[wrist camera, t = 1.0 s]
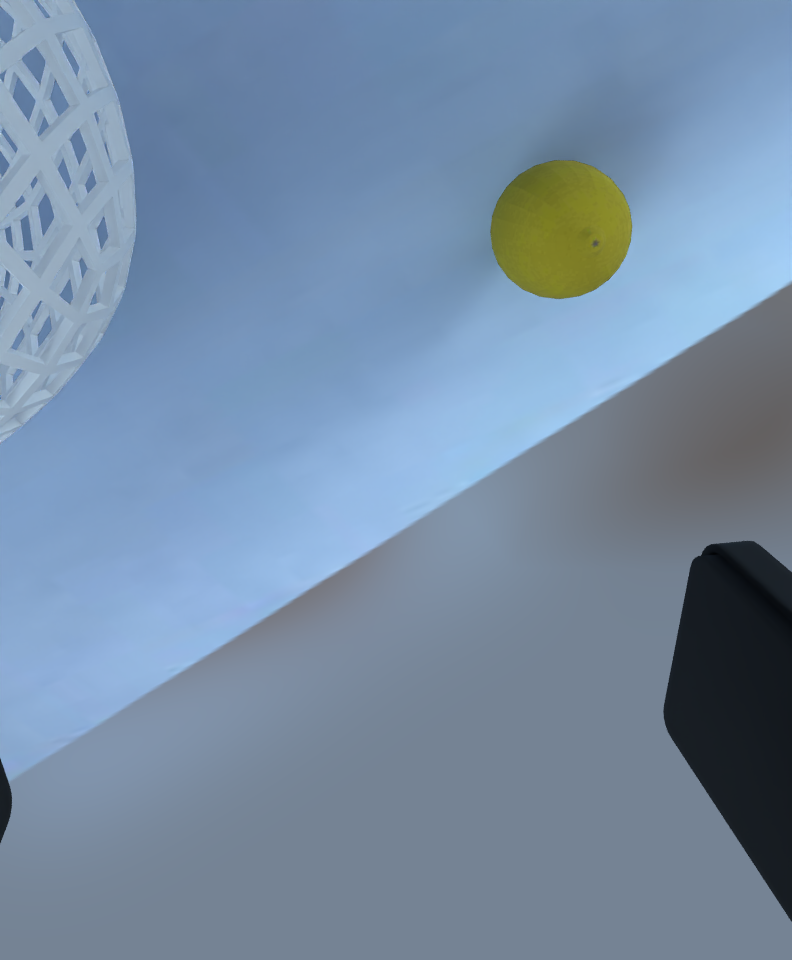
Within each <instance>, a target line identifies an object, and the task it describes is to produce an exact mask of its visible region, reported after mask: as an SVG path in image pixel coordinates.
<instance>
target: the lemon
mask: <svg viewBox="0 0 792 960" xmlns="http://www.w3.org/2000/svg"><path fill="white" fill-rule="evenodd" d="M490 233H491V242H492V249H493V252H494V254H495V257H496V260H497V262H498V264H499V266H500V267H501V268H502V270H503V271H504V273H505V274H506V275H507V277H508V278H509V279H510V280H512V281H513V282H514V283H515V284H517V285H518V286H519V287H520V288H522V289H523V290H525V291H528V292H530V293H533V294H535V295H537V296H540V297H547V298H555V299H563V298H570V297H577V296H581V295H583V294H586V293H588V292H591V291H593V290H595V289H597V288H598V287H599V286H601V285H602V284H603V283H605V282H606V281H608V280H609V279H610V278H611V277H612V275H613V274H614V273H615V272H616V271H617V270H618V269H619V267H620V265H621V264H622V262H623V260H624V258H625V257H626V255H627V251H628V248H629V245H630V242H631V233H632V221H631V214H630V209H629V206H628V204H627V202H626V199H625V197H624V195H623V193H622V192H621V190H620V189H619V188H618V187H617V185H616V184H615V183H614V182H613V181H612V179H611V178H609V177H608V176H606V175H605V174H604V173H602V172H601V171H599V170H598V169H596V168H595V167H593V166H590V165H587V164H584V163H580V162H577V161H564V160H554V161H550V162H546V163H542V164H539V165H535V166H533V167H532V168H530V169H528V170H527V171H525V172H523V173H521V174H520V175H518V176H517V177H516V178H515V179H514V180H513V181H512V182H511V183H510V184H509V185H508V186H507V187H506V189H505V190H504V192H503V193H502V195H501V197H500V198H499V200H498V201H497V204H496V207H495V210H494V212H493V215H492V222H491V231H490Z"/></svg>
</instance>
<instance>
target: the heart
mask: <svg viewBox="0 0 792 960" xmlns="http://www.w3.org/2000/svg"><path fill="white" fill-rule="evenodd" d="M38 1H39V2H40V4H41V5H42V6H43V8H44V9H45V10H46V12H47V13H48V14H49V16H50V17H48V18H45V16H44V15H43V14H42V12H41V11H40V9H39V8H38V6H37V5H36V3H35V2H34V0H0V6H1V7H2V8H3V9H4V10H5V11H6V12H7V13H8V14H9V15H10V16H11V17H12V18H13V19H14V26H13V33H12V39H11V40H9V41H8V42H7V43H5V42H4V41H3V40H2V39H1V38H0V74H1V73H2V72H4V71H5V70H6V73H5V77H4V82H2V80H1V79H0V151H1V152H2V154H3V155H4V157H5V158H6V160H7V161H8V163H9V164H10V166H9V168H8V169H7V171H6V172H5V174H4V176H3V177H2V175H1V174H0V298H1V296H2V297H3V298H5V300H4V303H3V305H2V308H1V310H0V375H1V376H0V395H1V400H0V444H1V443H2V442H4V441H5V440H6V439H7V438H8V437H10V436H11V435H12V434H13V433H14V432H16V431H17V430H18V429H19V428H20V427H22V426H23V425H24V424H25V423H26V422H27V421H29V420H30V419H31V418H32V417H33V416H34V415H35V414H36V413H37V412H38V411H40V410H41V409H42V408H43V407H44V406H45V405H46V404H47V403H48V402H49V401H51V400H52V399H53V398H54V397H55V396H56V395H57V394H58V393H59V392H60V390H61V389H62V388H63V387H64V386H65V385H66V383H67V382H68V381H69V380H70V379H71V378H72V376H73V375H74V374H75V373H76V372H77V371H78V369H79V368H80V367H81V365H82V364H83V363H84V361H85V360H86V359H87V358H88V356H89V355H90V354H91V352H92V351H93V350H94V349H95V347H96V346H97V345H98V343H99V342H100V340H101V339H102V337H103V335H104V333H105V331H106V329H107V327H108V325H109V323H110V321H111V319H112V317H113V315H114V313H115V311H116V309H117V307H118V304H119V302H120V300H121V298H122V295H123V292H124V289H125V286H126V283H127V278H128V273H129V268H130V263H131V258H132V253H133V248H134V243H135V238H136V201H135V183H134V167H133V160H132V154H131V150H130V146H129V141H128V137H127V132H126V128H125V124H124V119H123V115H122V111H121V106H120V103H119V99H118V96H117V93H116V90H115V88H114V85H113V82H112V80H111V77H110V75H109V72H108V70H107V67H106V65H105V62H104V59H103V57H102V54H101V52H100V49H99V47H98V44H97V42H96V39H95V37H94V35H93V33H92V31H91V29H90V27H89V25H88V24H87V22H86V20H85V18H84V17H83V15H82V13H81V11H80V10H79V8H78V6H77V4H76V3H75V1H74V0H38ZM64 40H65V42H66V44H67V45H68V47H69V49H70V51H71V53H72V55H73V56H74V58H75V60H76V62H77V64H78V66H79V67H80V68H79V72H78V75H77V77H76V75H75V73H74V71H73V69H72V67H71V65H70V63H69V61H68V59H67V57H66V55H65V53H64V51H63V49H62V47H63V41H64ZM35 47H36V48H37V49H38V50H39V52H40V53H41V54H42V56H43V57H44V59H45V61H46V63H45V68H44V72H43V76H42V80H41V84H39V82H38V81H37V80H36V78H35V77H34V76H33V74H32V73H31V72H30V70H29V69H28V68H27V66H26V65H25V63H24V62H23V61H22V57H23V56H24V55H26V54H27V53H28V52H29V51H31V50H32V49H33V48H35ZM18 77H19V79H20V80H21V81H22V83H23V84H24V86H25V87H26V88H27V90H28V91H29V92H30V94H31V95H32V96H33V98H34V99H35V100H36V102H35V105H34V108H33V111H32V114H31V117H30V120H29V121H28V120H27V118H26V117H25V115H24V114H23V112H22V111H21V109H20V108H19V106H18V105H17V103H16V102H15V100H14V99H13V94H14V90H15V87H16V83H17V79H18ZM55 80H56V82H57V84H58V85H59V87H60V89H61V91H62V93H63V95H64V97H65V98H66V100H67V102H68V104H69V107H68V108H67V109H66V110H65V111H64V112H63V113H62V114H61V115H60V116H58V114H57V112H56V110H55V108H54V106H53V104H52V102H51V100H50V97H51V94H52V90H53V86H54V83H55ZM88 89H89V92H90V93H89V94H87V92H88ZM95 112H97V114H98V116H99V122H98V124H97V122H96V119H95V116H94V113H95ZM44 116H45V118H46V120H47V122H48V124H49V127H48V128H47V129H46V130H45V131H44V132H43V133H42V134H41V135H40V136H39V137H38V133H39V130H40V127H41V124H42V121H43V118H44ZM3 128H4V129H5V131H6V132H7V134H8V135H9V137H10V138H11V139H12V141H13V142H14V144H15V145H16V147H17V148H18V150H17V152H16V153H15V152H14V150H13V149H12V147H11V146H10V144H9V143H8V141H7V140H6V139H5V137H4V136H3V134H2V133H1V132H2V129H3ZM78 128H79V130H80V132H81V135H82V138H83V141H84V143H85V146H86V149H87V150H86V152H85V154H84V157H83V159H82V161H81V163H80V165H79V164H78V161H77V158H76V155H75V152H74V150H73V147H72V144H71V141H70V140H71V137H72V135H73V134H74V133H75V132H76V131H77V130H78ZM105 141H106V145H107V149H108V153H109V157H110V161H111V164H110V161H109V158H108V155H107V152H106V149H105V146H104V144H105ZM63 158H64V161H65V164H66V167H67V170H68V173H69V176H70V179H71V182H72V183H71V185H70V187H69V189H67V187H66V185H65V183H64V181H63V179H62V177H61V175H60V173H59V171H58V168H59V166H60V163H61V161H62V159H63ZM111 165H112V167H111ZM92 169H93V173H94V177H95V180H96V185H95V186H94V188H93V189H92V190H91V191H90V192H89V193H88V194H87V190H86V186H85V184H86V182H87V180H88V178H89V176H90V173H91V171H92ZM35 176H36V177H37V179H38V181H37V183H36V185H35V187H34V188H33V189H32V187H31V184H30V183H31V182H32V181H33V179H34V178H35ZM45 193H46V194H47V196H48V198H49V199H50V203H51V206H52V210H53V214H54V217H55V218H54V219H53V221H52V223H51V224H50V226H49V228H48V230H47V231H46V233H45V235H44V237H43V234H42V228H41V222H40V215H39V209H38V205H39V204H40V202H41V200H42V198H43V197H44V195H45ZM22 194H23V197H24V199H25V202H24V203H22V204H21V205H20V206H19V207H18V208H17V207H16V202H17V201H18V200H19V198H20V197H21V196H22ZM76 203H78V206H76ZM7 215H8V216H7ZM27 215H28V217H29V224H30V231H31V237H32V244H33V250H30V251H24V245H23V236H22V228H21V219H23V218H24V217H25V216H27ZM6 216H7V217H6ZM103 216H104V218H105V222H106V227H107V231H108V238H107V240H106V242H105V244H104V246H103V248H102V250H101V248H100V243H99V238H98V234H97V228H98V226H99V224H100V222H101V220H102V218H103ZM9 226H11V232H12V241H13V248H12V247H11V246H10V245H9V244H8V243H7V241H6V235H5V229H6V228H8V227H9ZM81 258H83V260H84V262H85V264H86V266H87V270H86V273H85V275H84V277H83V279H82V275H81V269H80V264H79V261H80V259H81ZM24 260H26V261H32V264H31V268H30V267H29V266H28V265H27V264H26V263H25V261H24ZM6 270H7V271H8V272H9V273H10V280H9V285H8V289H7V288H5V287H4V282H5V275H6ZM58 271H59V272H58ZM105 272H106V274H105ZM57 273H58V274H57ZM55 276H56V277H55ZM54 278H55V279H54ZM69 279H70V281H71V286H72V292H73V297H74V298H73V299H72V301H71V302H70V304H69V303H67V302H66V301H65V300H64V299H63V298H61V297H60V294H61V293H62V291H63V289H64V287H65V286H66V284H67V282H68V280H69ZM19 283H20V284H21V285H22V286H23V288H22V290H21V291H20V292H19V294H18V295H17V292H18V287H19ZM95 291H96V298H97V303H96V304H93V305H90V303H91V301H92V298H93V296H94V293H95ZM40 300H41V301H42V303H41V305H40V307H39V309H38V311H37V313H36V315H35V317H34V319H33V318H32V315H31V314H32V313H33V311H34V310H35V308H36V306H37V305H38V303H39V302H40ZM49 314H50V320H51V327H52V330H51V331H50V333H49V334H48V336H47V337H46V339H45V340H44V341H43V343H42V344H41V346H40V347H38V337H37V336H38V334H39V332H40V331H41V329H42V327H43V325H44V323H45V321H46V320H47V318H48V316H49ZM21 329H23V332H24V335H25V336H24V338H23V340H22V341H21V343H20V345H19V347H18V348H17V350H15V349H12V348H11V347H12V345H13V343H14V341H15V339H16V337H17V335H18V334H19V332H20V331H21ZM17 369H21V370H23V371H22V372H21V373H20V375H19V376H18V378H17V379H16V380H15V382H14V383H13V375H14V374H15V372H16V370H17ZM40 390H41V391H40Z"/></svg>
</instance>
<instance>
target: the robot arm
mask: <svg viewBox="0 0 792 960" xmlns="http://www.w3.org/2000/svg"><path fill="white" fill-rule="evenodd" d="M664 720H665V725H666V728H667V730H668V733H669V734H670V736H671V738H672V740H673V741H674V743H675V744H676V746H677V747H678V749H679V750H680V752H681V753H682V755H683V756H684V758H685V760H686V761H687V763H688V764H689V765H690V767H691V769H692V770H693V772H694V773H695V775H696V776H697V778H698V779H699V781H700V782H701V784H702V786H703V787H704V788H705V790H706V792H707V793H708V795H709V796H710V798H711V799H712V801H713V802H714V804H715V805H716V807H717V808H718V810H719V811H720V813H721V815H722V816H723V817H724V819H725V821H726V822H727V824H728V825H729V827H730V828H731V829H732V831H733V833H734V834H735V836H736V837H737V839H738V840H739V842H740V844H741V845H742V847H743V848H744V849H745V851H746V853H747V854H748V856H749V857H750V859H751V860H752V862H753V863H754V865H755V866H756V868H757V870H758V871H759V872H760V874H761V876H762V877H763V879H764V880H765V882H766V883H767V885H768V886H769V888H770V889H771V891H772V892H773V894H774V895H775V897H776V899H777V900H778V901H779V903H780V904H781V906H782V908H783V909H784V911H785V912H786V914H787V915H788V917H789V918H790V920H791V921H792V572H791V571H789V570H788V569H787V568H786V567H785V566H784V565H782V564H781V563H780V562H779V561H778V560H776V559H775V558H774V557H773V556H772V555H770V553H768V552H767V551H766V550H765V549H764V548H762V547H761V546H760V545H759V544H757V543H755V542H754V541H742V542H731V543H720V544H711V545H709V546H707V547H706V548H705V549H704V551H703V552H702V555H701V556H698V557H696V558H695V559H694V560H693V561H692V564H691V567H690V572H689V577H688V583H687V588H686V593H685V599H684V604H683V609H682V614H681V619H680V625H679V630H678V635H677V640H676V645H675V651H674V656H673V661H672V667H671V672H670V677H669V683H668V688H667V693H666V698H665V703H664ZM11 808H12V795H11V789H10V786H9V783H8V780H7V777H6V774H5V771H4V768H3V765H2V762H1V759H0V843H1V840H2V837H3V835H4V832H5V830H6V827H7V824H8V821H9V818H10V814H11Z"/></svg>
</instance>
